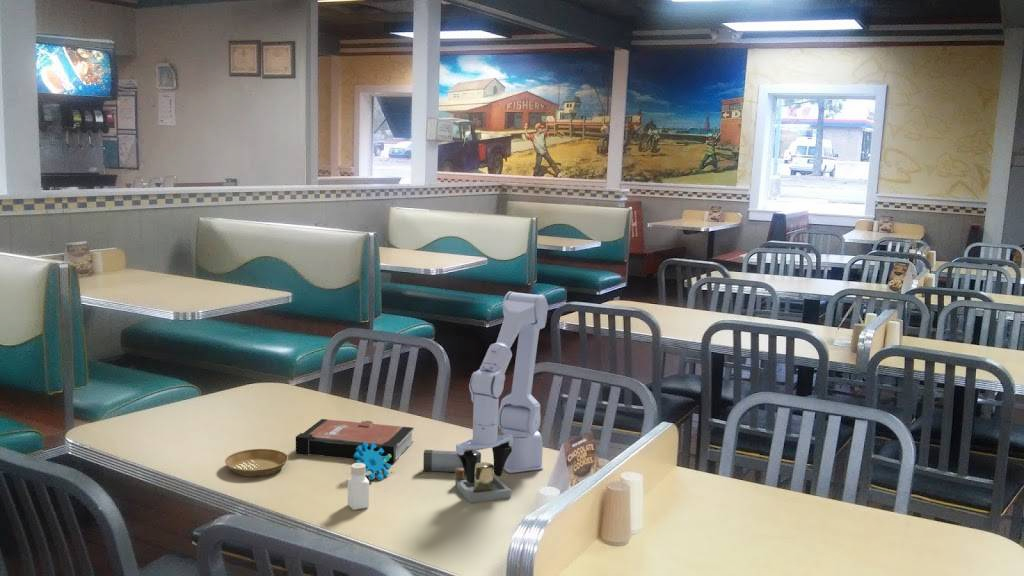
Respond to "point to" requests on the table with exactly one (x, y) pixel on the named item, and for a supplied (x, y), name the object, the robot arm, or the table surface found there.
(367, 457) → the gear
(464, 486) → the tray
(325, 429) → the book
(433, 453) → the crank
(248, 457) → the shallow brown basket
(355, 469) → the salt shaker
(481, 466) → the cylinder
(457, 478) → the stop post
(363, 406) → the table surface
